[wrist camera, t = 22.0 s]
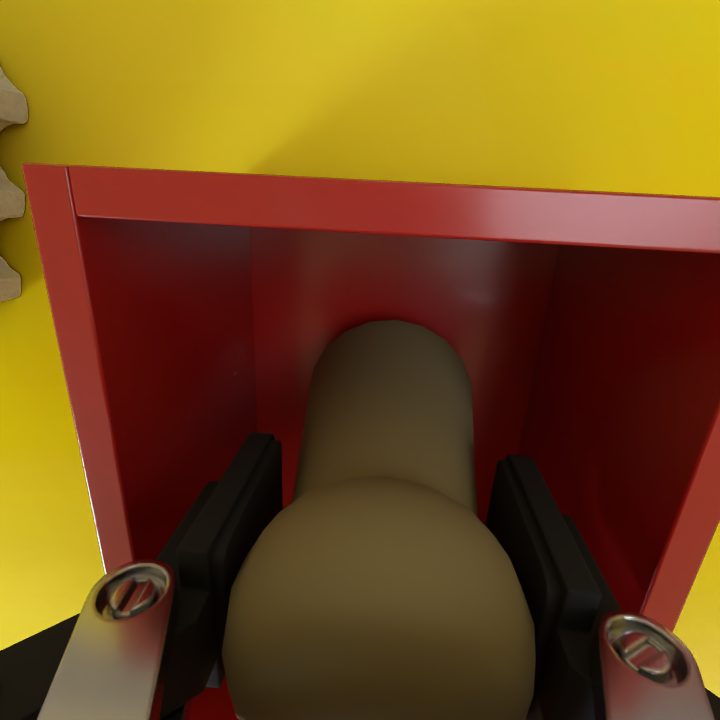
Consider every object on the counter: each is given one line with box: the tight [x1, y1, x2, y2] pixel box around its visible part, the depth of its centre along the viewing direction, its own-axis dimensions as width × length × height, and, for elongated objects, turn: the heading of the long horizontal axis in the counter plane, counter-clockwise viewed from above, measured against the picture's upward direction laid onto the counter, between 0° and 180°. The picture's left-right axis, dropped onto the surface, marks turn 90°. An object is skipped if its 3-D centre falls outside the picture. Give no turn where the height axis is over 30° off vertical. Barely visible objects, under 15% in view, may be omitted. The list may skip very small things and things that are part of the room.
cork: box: [222, 320, 536, 720], centre depth 11 cm, size 6×6×11 cm
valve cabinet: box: [22, 163, 720, 720], centre depth 14 cm, size 15×13×10 cm
